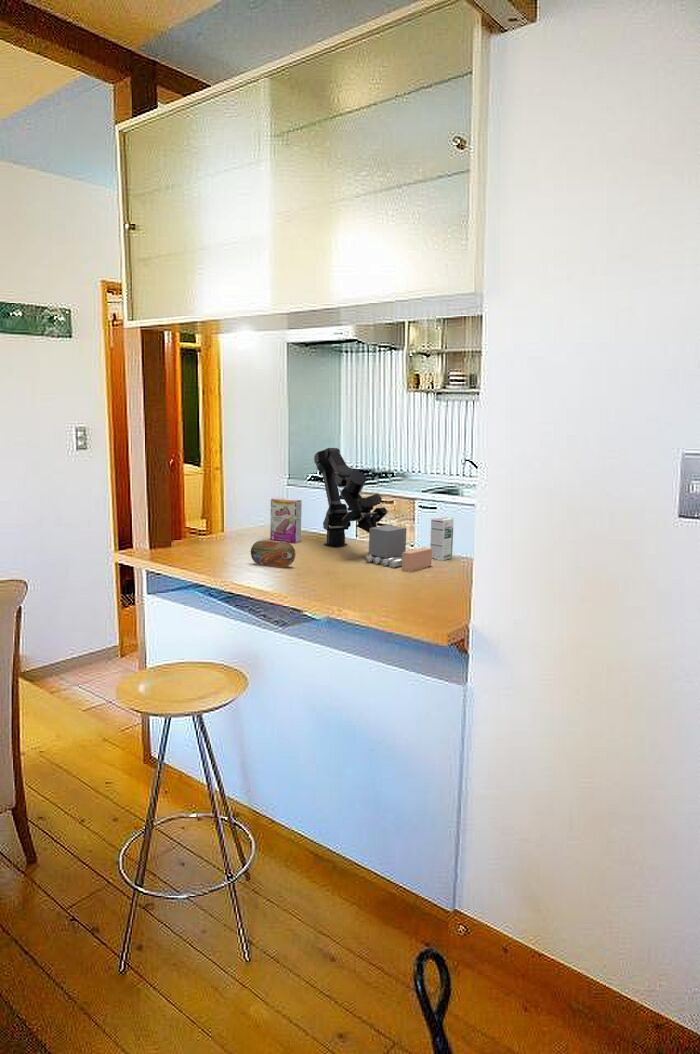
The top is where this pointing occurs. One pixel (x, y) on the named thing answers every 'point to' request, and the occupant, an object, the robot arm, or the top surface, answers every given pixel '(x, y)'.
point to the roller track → (385, 560)
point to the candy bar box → (285, 520)
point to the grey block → (387, 541)
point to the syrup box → (441, 537)
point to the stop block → (416, 559)
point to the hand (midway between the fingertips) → (377, 536)
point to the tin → (273, 553)
